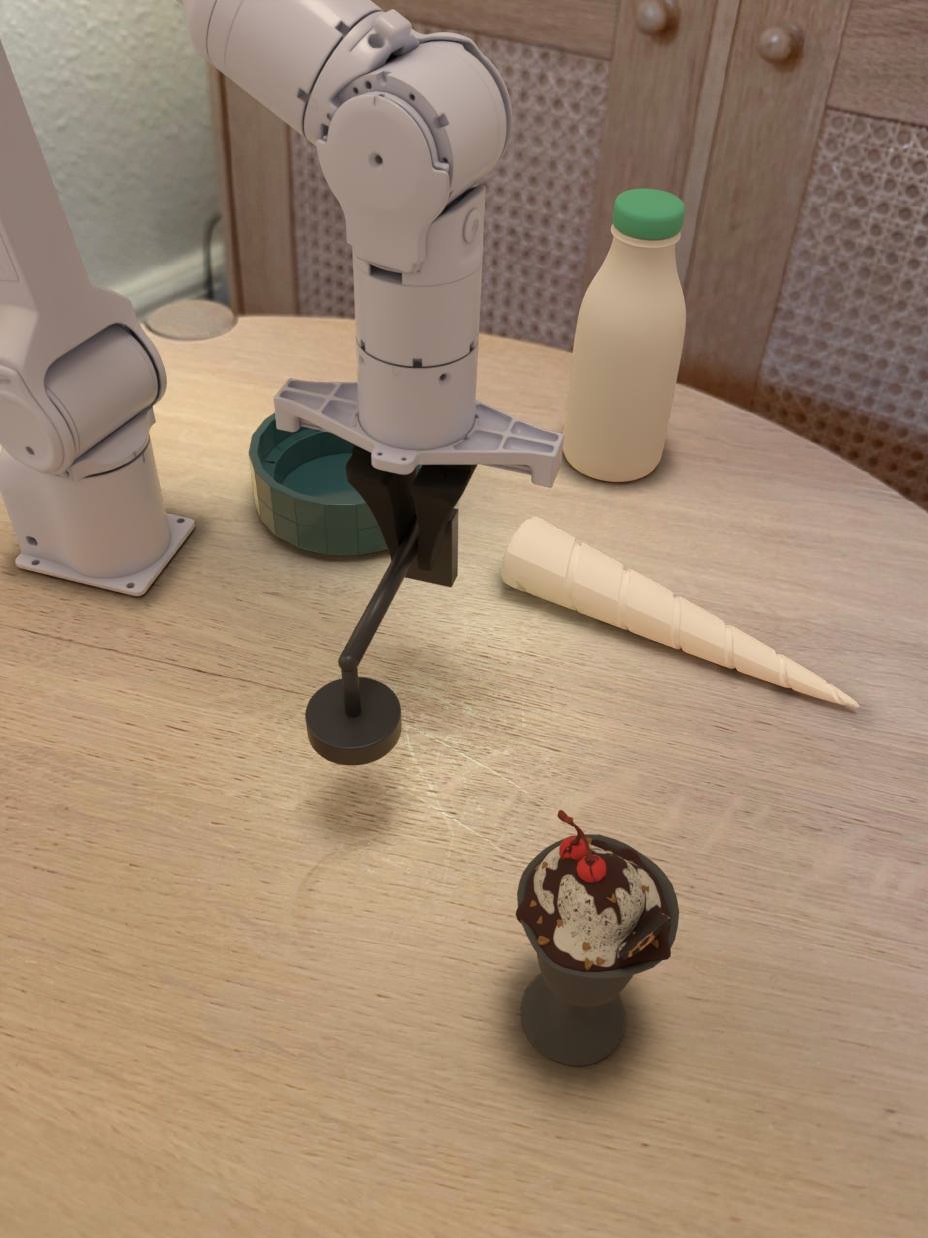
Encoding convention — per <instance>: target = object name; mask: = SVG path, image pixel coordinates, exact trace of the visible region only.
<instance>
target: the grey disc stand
mask: <svg viewBox="0 0 928 1238" xmlns="http://www.w3.org/2000/svg"><path fill="white" fill-rule="evenodd" d="M417 548H418V519H417V512H416V517H415V519H414V521H413V522H412V524H411V526H410V528H409V530H408V532H407V533H406V535H405V537H404V539H403V541H402V543H401V544H400V546H399V548H398V550H397V552H396V554H395V556H394V557H393V559H392V561H391V560H390V563H389V565H388V567H387V569H386V571H385V572H384V574H383V576H382V577H381V580H380V581H379V583H378V585H377V586H376V588H375V590H374V592H373V594H372V596H371V598H370V600H369V601H368V603H367V605H366V607H365V609H364V610H363V612H362V614H361V616H360V617H359V620H358V622H357V623H356V626H355V627H354V629H353V631H352V633H351V634H350V637H349V638H348V640H347V642H346V644H345V646H344V648H343V650H342V651H341V653H340V655H339V657H338V659H337V665H338V667H339V669H340V673H341V678H338V679H334V680H332V681H330V682H328V683H326V684H324V685H322V686H321V687H320V688H319V689H318V690H316V691H315V692H314V693H313V695H312V696H311V697H310V699H309V700H308V702H307V705H306V708H305V714H304V718H305V726H306V733H307V739H308V742H309V744H310V746H311V747H312V749H313V750H314V752H316V753H317V754H318V755H319V756H320V757H321V758H323V759H325V760H326V761H328V762H330V763H332V764H336V765H339V766H348V767H356V766H357V767H358V766H363V765H369V764H371V763H374V762H376V761H379V760H381V759H382V758H384V757H386V756H387V755H388V754H390V752H392V750H393V749H394V748H395V746H396V745H397V744H398V742H399V740H400V738H401V735H402V730H403V722H402V721H403V720H402V719H403V718H402V707H401V702H400V699H399V698H398V696H397V694H396V693H395V692H394V691H393V689H391V687H389V686H388V685H387V684H385V683H383V682H382V681H379V680H377V679H374V678H372V677H367V676H359V665H360V664H361V662H362V661H363V660H362V659H363V658H364V656H365V654H366V652H367V651H368V648H369V646H370V644H371V643H372V641H373V640H374V637H375V635H376V633H377V631H378V629H379V627H380V626H381V624H382V622H383V620H384V618H385V616H386V614H387V612H388V610H389V609H390V606H391V604H392V602H393V601H394V599H395V597H396V595H397V593H398V590H399V589H400V587H401V585H402V583H403V582H404V579H410V580H415V581H419V582H422V583H423V582H424V583H428V584H433V585H437V586H442V587H446V588H453V587H454V584H455V581H456V580H457V578H458V575H459V574H458V573H459V572H458V571H459V509H458V508H456V507H454V508H453V510H452V512H451V515H450V518H449V520H448V523H447V527H446V530H445V534H444V538H443V543H442V550H441V552H440V554H439V556H438V558H437V560H436V562H435V564H434V566H433V568H432V570H431V571H425V570H421V569H418V563H417Z"/></svg>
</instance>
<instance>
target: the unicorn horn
mask: <svg viewBox="0 0 928 1238" xmlns="http://www.w3.org/2000/svg"><path fill="white" fill-rule="evenodd" d="M576 540H577V538H576V537H574V536H573V535H571V534H570V533H567V532H566V531H564V530H563V529H560V528H558V527H557V526H555V525H553V524H551V523H550V522H548V521H547V520H545V519H542V518H541V517H538V516H531V517H528V518H527V519H525V520H524V521H523V522H522V523H521V525H520V526H519V527H518V528H517V530H516V531H515V533H514V535H513V536H512V537H511V540H509V544H508V546H507V548H506V551H505V553H504V556H503V558H502V564H501V569H500V575H501V576H500V577H501V579H502V581H503V583H504V584H505V585H507V586H509V587H510V588H513V589H515V590H518V591H521V592H523V593H528V594H530V595H532V596H535V597H537V598H539V599H542V600H545V601H547V602H550V603H553V604H555V605H558V606H560V607H563V608H566V609H569V610H572V611H577V612H578V613H580V614H582V615H585V616H588V617H591V618H592V619H596V620H598V621H601V622H603V623H606V624H609V625H611V626H614V627H617V628H620V629H622V630H625V631H627V630H628V631H629V632H631V633H633V634H635V635H638V636H640V637H643V638H646V639H648V640H651V641H654V642H656V643H659V644H662V645H665V646H667V647H670V648H673V649H675V650H681V649H682V652H684V653H686V654H689V655H691V656H695V657H697V658H699V659H702V660H705V661H708V662H710V663H713V664H716V665H718V666H722V667H725V668H727V669H730V670H733V669H735V670H737V672H739V673H742V674H743V675H744V674H745V675H748V676H751V677H754V678H756V679H759V680H762V681H765V682H768V683H771V684H773V685H777V686H780V687H783V688H786V689H792V690H793V691H795V692H798V693H800V694H803V695H807V696H810V697H813V698H816V699H819V700H823V701H827V702H830V703H833V704H837V705H841V706H847V707H852V708H860V707H861V706H860V705H859V703H858V702H857V701H856V700H855V699H854V698H852V696H850V695H849V694H847V693H845V692H844V691H843V690H841V689H839V688H838V687H837V686H835V685H834V684H831V683H828V682H827V681H826V680H825V679H824V678H823V677H821V676H819V675H817V674H816V673H814V672H812V671H811V670H809V669H807V668H806V667H804V666H802V665H800V664H799V663H797V662H796V661H794V660H792V659H791V658H789V657H788V656H786V655H784V654H783V653H777V652H776V650H775V649H774V648H772V647H770V646H768V645H767V644H765V643H763V642H761V641H760V640H759V639H756V638H755V637H753V636H751V635H749V634H747V633H746V632H744V631H743V630H741V629H739V628H737V627H736V626H734V625H731V624H726V623H725V621H724V620H723V619H721V618H720V617H718V616H716V615H714V614H713V613H711V612H709V611H708V610H705V609H704V608H702V607H700V606H699V605H697V604H695V603H694V602H692V601H689V599H686V598H684V597H683V596H681V595H676V596H674V593H673V591H672V590H670V589H668V588H667V587H665V586H664V585H661V584H659V583H658V582H656V581H654V580H652V579H650V578H649V577H647V576H645V575H643V574H641V573H640V572H638V571H636V570H634V569H632V568H628V569H627V570H626V569H624V564H623V563H621V562H620V561H617V560H616V559H615V558H612V557H611V556H610V555H607V554H605V553H604V552H602V551H600V550H598V549H597V548H595V547H593V546H591V545H589V544H587V543H586V542H583V541H582V542H581V543H580V544H579V542H576Z"/></svg>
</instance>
